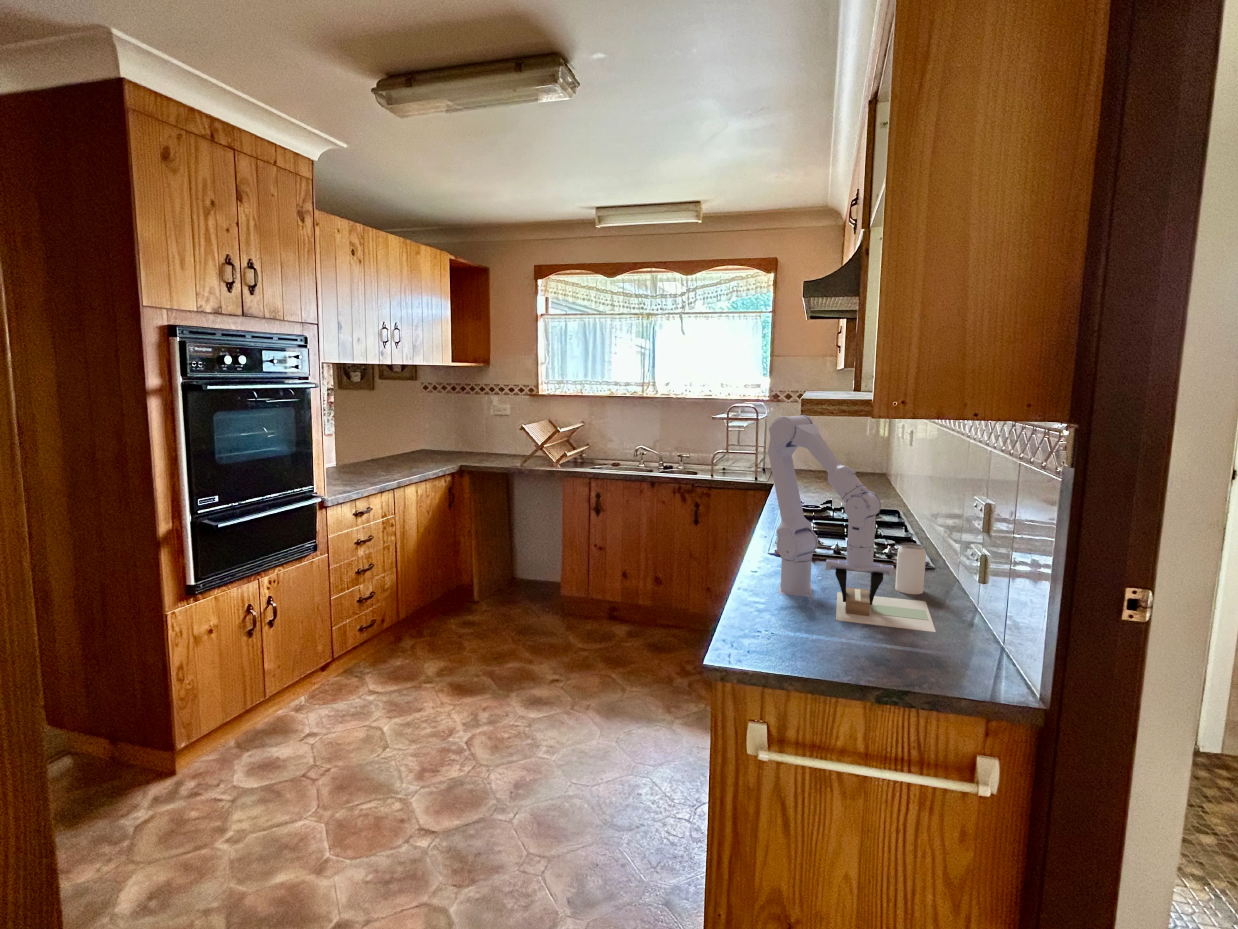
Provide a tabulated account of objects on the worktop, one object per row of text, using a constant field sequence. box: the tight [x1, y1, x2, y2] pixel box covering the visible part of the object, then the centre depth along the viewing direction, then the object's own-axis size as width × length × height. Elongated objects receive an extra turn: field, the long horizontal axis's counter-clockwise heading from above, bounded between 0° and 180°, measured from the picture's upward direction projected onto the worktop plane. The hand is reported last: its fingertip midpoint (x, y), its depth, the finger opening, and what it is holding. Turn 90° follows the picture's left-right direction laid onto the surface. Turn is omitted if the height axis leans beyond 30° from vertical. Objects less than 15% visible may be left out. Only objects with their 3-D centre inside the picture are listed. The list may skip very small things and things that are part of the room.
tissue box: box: [846, 586, 870, 616], centre depth 153 cm, size 10×5×3 cm, turn 161°
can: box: [894, 542, 927, 595], centre depth 165 cm, size 6×6×12 cm
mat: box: [835, 591, 936, 633], centre depth 152 cm, size 20×20×1 cm
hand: (857, 602), depth 153 cm, fingers closed on tissue box, 5 cm apart
